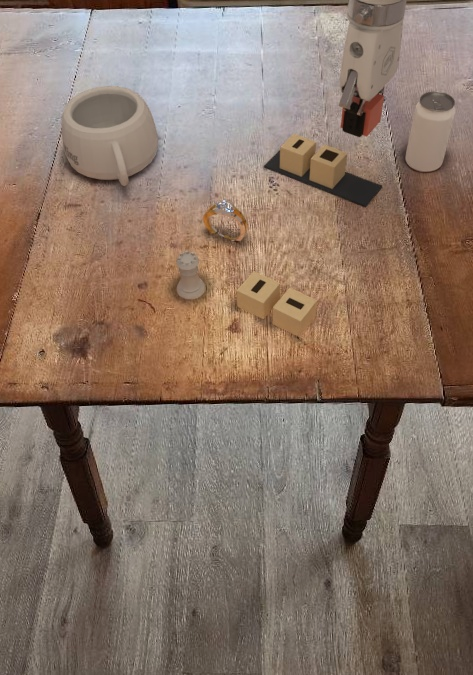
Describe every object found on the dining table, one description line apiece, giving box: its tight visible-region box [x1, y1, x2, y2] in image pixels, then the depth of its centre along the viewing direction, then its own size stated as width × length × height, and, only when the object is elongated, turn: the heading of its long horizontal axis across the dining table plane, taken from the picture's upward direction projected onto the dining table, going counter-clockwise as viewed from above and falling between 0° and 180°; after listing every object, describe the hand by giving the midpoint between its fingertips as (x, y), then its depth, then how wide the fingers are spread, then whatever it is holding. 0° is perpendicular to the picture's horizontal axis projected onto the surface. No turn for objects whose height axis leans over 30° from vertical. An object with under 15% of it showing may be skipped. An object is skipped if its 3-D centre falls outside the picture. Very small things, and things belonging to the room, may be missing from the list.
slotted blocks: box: [236, 270, 318, 338], centre depth 96 cm, size 20×6×5 cm, turn 56°
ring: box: [202, 198, 248, 244], centre depth 105 cm, size 7×3×8 cm, turn 61°
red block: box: [340, 88, 385, 137], centre depth 102 cm, size 4×4×5 cm
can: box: [404, 90, 456, 173], centre depth 114 cm, size 6×6×12 cm
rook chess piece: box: [175, 249, 206, 300], centre depth 98 cm, size 4×4×8 cm
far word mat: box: [263, 133, 383, 208], centre depth 115 cm, size 20×6×5 cm, turn 56°
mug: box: [61, 85, 159, 187], centre depth 118 cm, size 21×17×10 cm
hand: (360, 123), depth 104 cm, fingers closed on red block, 4 cm apart
